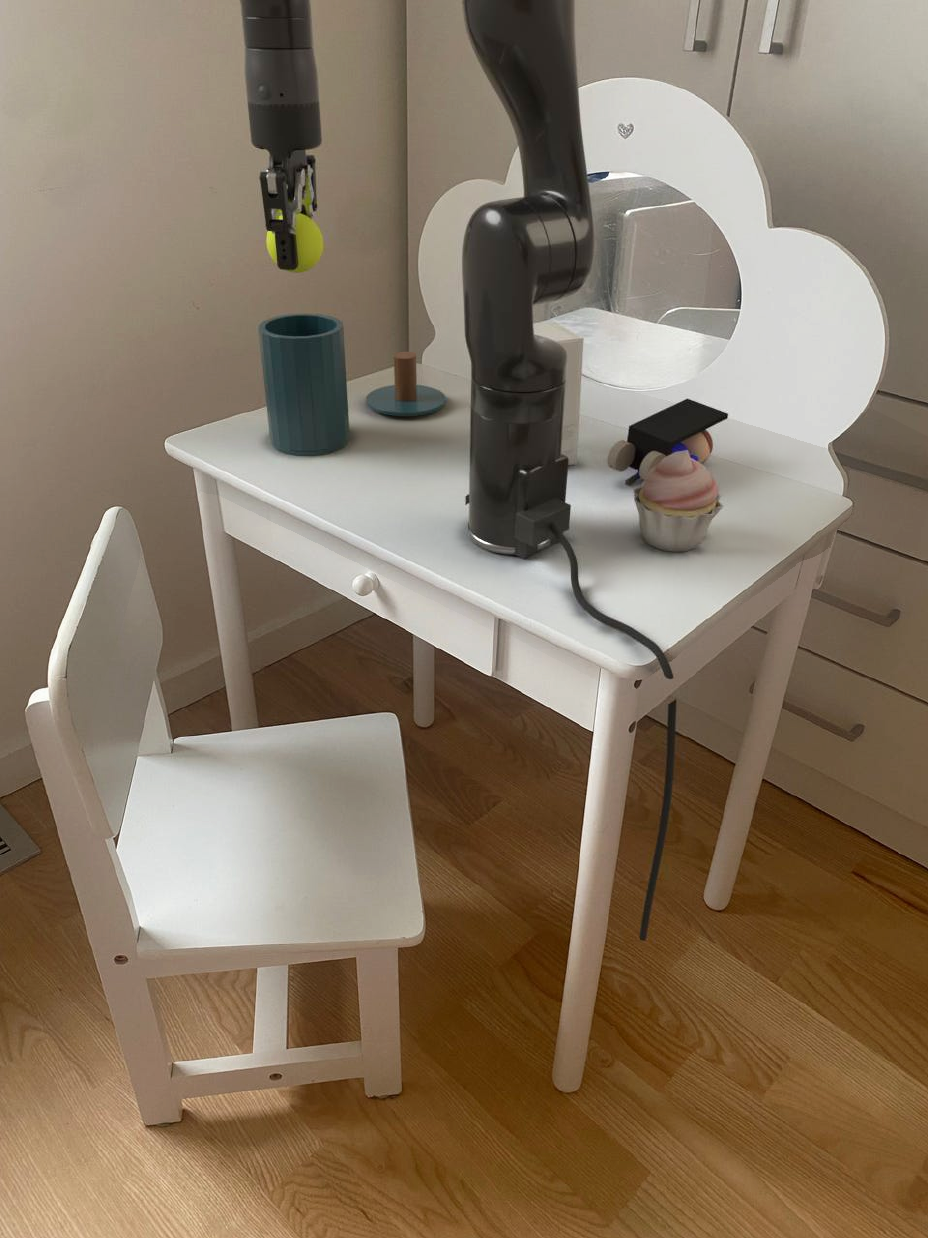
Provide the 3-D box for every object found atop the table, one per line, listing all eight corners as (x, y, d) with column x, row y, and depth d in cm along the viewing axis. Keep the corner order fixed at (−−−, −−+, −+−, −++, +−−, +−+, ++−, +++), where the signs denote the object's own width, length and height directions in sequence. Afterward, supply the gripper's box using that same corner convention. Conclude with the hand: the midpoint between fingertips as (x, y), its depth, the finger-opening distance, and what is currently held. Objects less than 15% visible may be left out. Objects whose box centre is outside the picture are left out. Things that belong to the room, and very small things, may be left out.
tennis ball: (336, 272, 111) (332, 213, 107) (290, 281, 107) (285, 220, 104) (303, 262, 115) (299, 205, 111) (258, 270, 111) (252, 211, 108)
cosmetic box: (577, 465, 117) (588, 338, 108) (528, 473, 115) (535, 344, 106) (547, 440, 123) (555, 318, 115) (500, 447, 121) (504, 323, 113)
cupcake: (730, 557, 98) (747, 467, 93) (642, 562, 97) (654, 472, 92) (699, 515, 106) (713, 430, 100) (617, 520, 105) (626, 434, 99)
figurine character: (649, 514, 109) (725, 463, 117) (653, 455, 105) (731, 406, 112) (603, 495, 113) (679, 447, 121) (604, 437, 109) (683, 391, 116)
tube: (365, 441, 122) (360, 326, 114) (300, 462, 117) (290, 343, 108) (319, 419, 128) (310, 308, 120) (255, 438, 123) (242, 324, 114)
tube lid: (462, 406, 133) (462, 356, 129) (401, 426, 126) (400, 374, 122) (410, 385, 139) (409, 337, 135) (350, 404, 133) (347, 353, 129)
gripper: (300, 105, 95) (312, 279, 104) (333, 91, 107) (342, 248, 116) (226, 103, 96) (245, 276, 105) (268, 89, 107) (281, 246, 117)
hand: (296, 261), depth 110 cm, fingers closed on tennis ball, 6 cm apart
